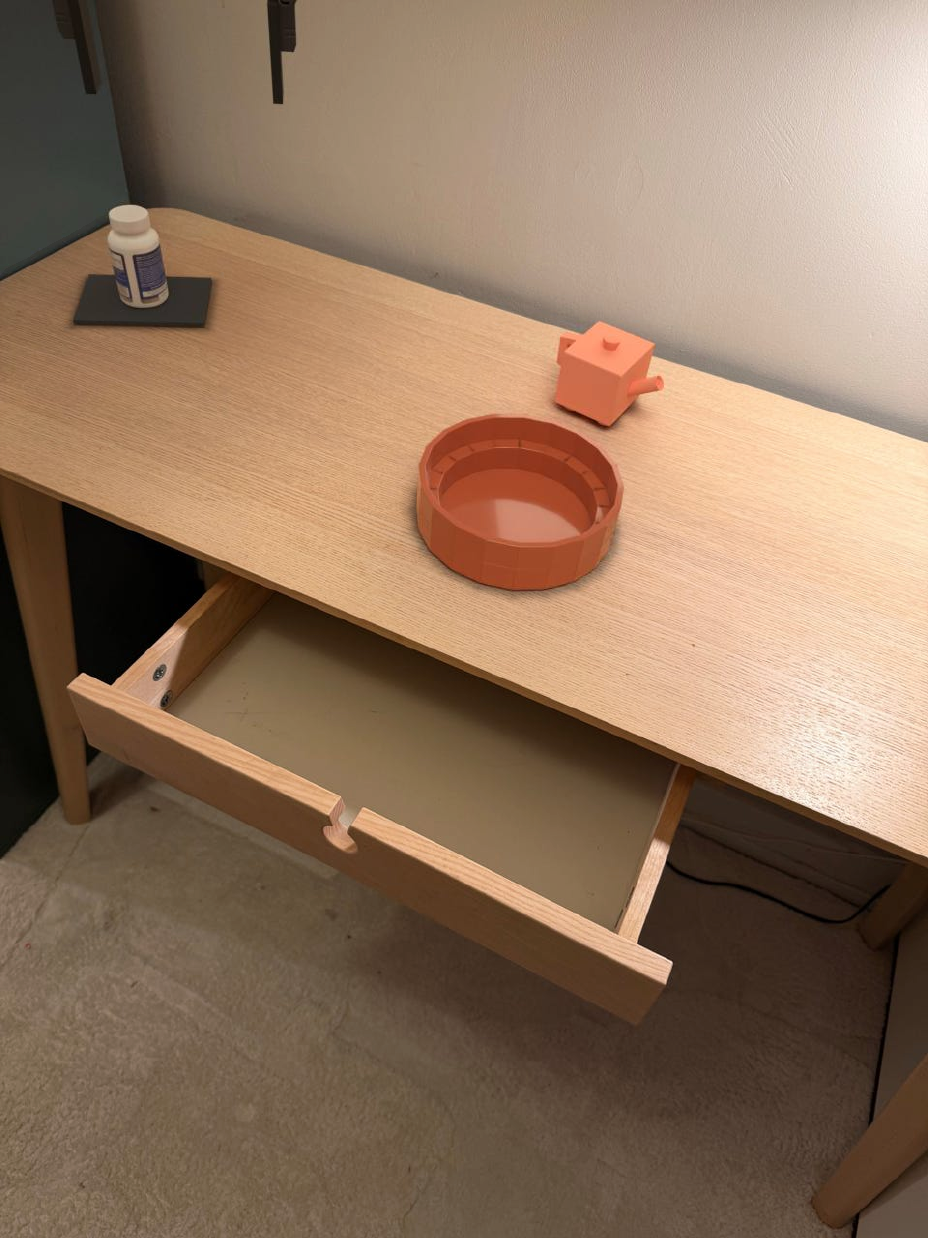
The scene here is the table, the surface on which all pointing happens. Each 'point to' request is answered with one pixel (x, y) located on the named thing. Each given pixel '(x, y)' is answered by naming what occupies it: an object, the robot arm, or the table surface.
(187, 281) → the mat
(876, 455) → the table surface
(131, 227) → the pill bottle
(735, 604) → the table surface
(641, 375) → the pink cube teapot
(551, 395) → the table surface
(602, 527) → the bowl
